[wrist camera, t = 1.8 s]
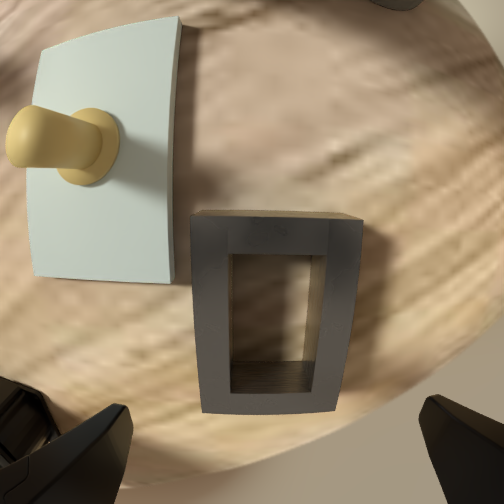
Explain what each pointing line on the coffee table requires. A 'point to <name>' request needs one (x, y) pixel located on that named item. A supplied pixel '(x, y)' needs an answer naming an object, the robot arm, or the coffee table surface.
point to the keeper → (102, 155)
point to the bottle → (398, 4)
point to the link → (318, 314)
